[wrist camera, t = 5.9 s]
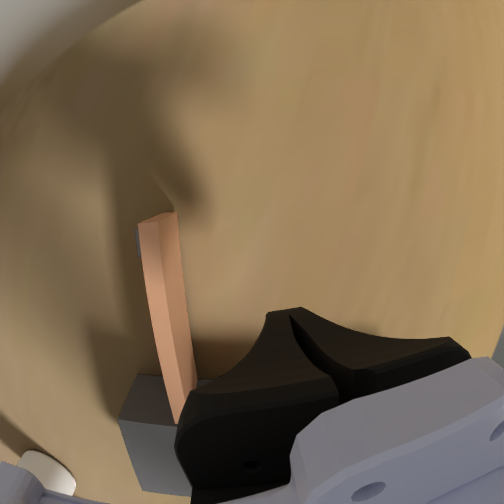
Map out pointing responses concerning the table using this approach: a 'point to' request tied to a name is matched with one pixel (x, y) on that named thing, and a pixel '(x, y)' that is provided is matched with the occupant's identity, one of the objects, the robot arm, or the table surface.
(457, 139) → the table surface
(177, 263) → the side door
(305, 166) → the table surface
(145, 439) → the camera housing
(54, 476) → the can
